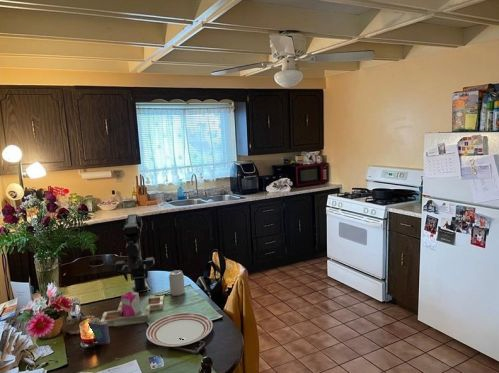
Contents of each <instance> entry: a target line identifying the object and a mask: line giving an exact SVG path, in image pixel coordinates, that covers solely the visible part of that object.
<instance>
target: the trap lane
mask: <svg viewBox="0 0 499 373" xmlns="http://www.w3.org/2000/svg"><path fill="white" fill-rule="evenodd" d="M147 299H148V300H147V301H148V304H146V307H145V308H146V309H145V313H141V315H137V316H130V317H124V316H122V315H123V307H122V300H120V302H119V305H118V308H117V310H110V311H104V312H103V314H102V317H101V318H100V320H99V321H100V322H108V327H121V326H127V325H134V324H141V323H149V322H148V321H149V320H150V316H151V311H150V310H152V311H157V309H159V310H164V302H165V300H164V299H165V298H164V295H157V296H148V298H147Z"/></svg>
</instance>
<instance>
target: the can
mask: <svg viewBox="0 0 499 373" xmlns="http://www.w3.org/2000/svg"><path fill="white" fill-rule="evenodd" d="M184 277H185V276H184V273H183V271H182V270H180V269H179V270H172V271H170V272H169V275H168V282H169V291H170V295H172V296H173V297H179V296H182V295H183V294H185V292H186V288H185V278H184Z"/></svg>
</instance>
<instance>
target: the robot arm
mask: <svg viewBox="0 0 499 373" xmlns="http://www.w3.org/2000/svg"><path fill="white" fill-rule="evenodd" d="M142 227H143V220H142V217H141V216H138V214H137V213H133V214H128V215H127V218H126V219H125V224H124V227H123V228H122V238H123V239H122V240H123V241H122V242H123V243H125V242H126V246H125V250H124V252H125V254H126V255H127V262H125V260H118V261H116V262H115V264H114V270H115V271H117V272H121V274H122V275H123V277H124V278H125V281H126V282H128V281H129V280H128V279H129V278H128V272H127V270H129V272H130V273H129V274H130V280H131V281H134V282H133V283H134V287H132V289H133V291H135V292H136V293H139V292H141V291H145V290H147V289H149V286H147V285H146V280H147V279H148V278H149V270H150V268H152V267H153V266H154V265H155V257H153V256H151V257H146V258H145V260H143V258H142V251H141V241H140V240H141V238H142V233H141V232H142ZM126 267H127V268H126Z"/></svg>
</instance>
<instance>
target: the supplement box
mask: <svg viewBox="0 0 499 373" xmlns="http://www.w3.org/2000/svg"><path fill="white" fill-rule="evenodd" d="M120 301H122V307H123V311H122V315H123V317H130V316H137V315H141V314H142V310H141V309H142V308H141V300H140V296H139V292H137V291H135V292H134V291H129V292H126V293H125V294H123V295H121V296H120Z"/></svg>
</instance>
